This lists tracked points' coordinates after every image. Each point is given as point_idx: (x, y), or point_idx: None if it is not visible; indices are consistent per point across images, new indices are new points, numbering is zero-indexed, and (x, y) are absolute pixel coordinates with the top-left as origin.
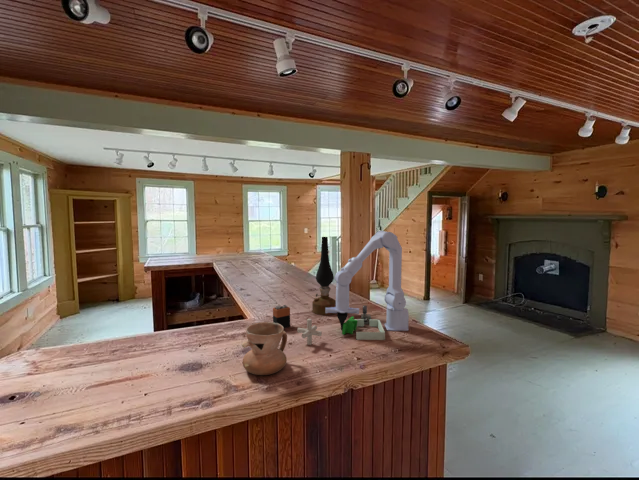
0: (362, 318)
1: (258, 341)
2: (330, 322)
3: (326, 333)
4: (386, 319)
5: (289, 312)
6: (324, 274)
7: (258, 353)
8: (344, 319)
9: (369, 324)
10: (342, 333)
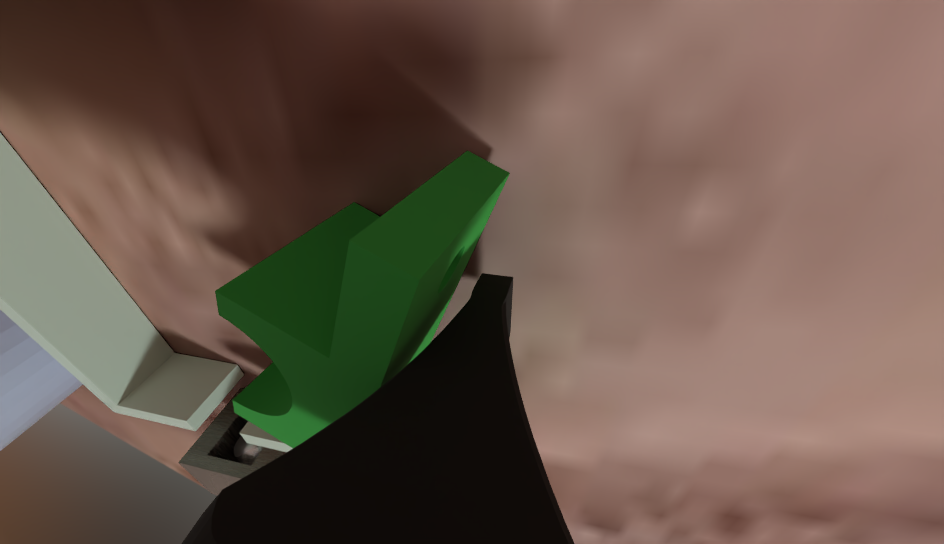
0: (269, 459)
1: None
2: (604, 488)
3: (787, 250)
4: (25, 391)
5: None
6: None
7: None
8: (358, 434)
9: (234, 384)
10: (495, 170)
